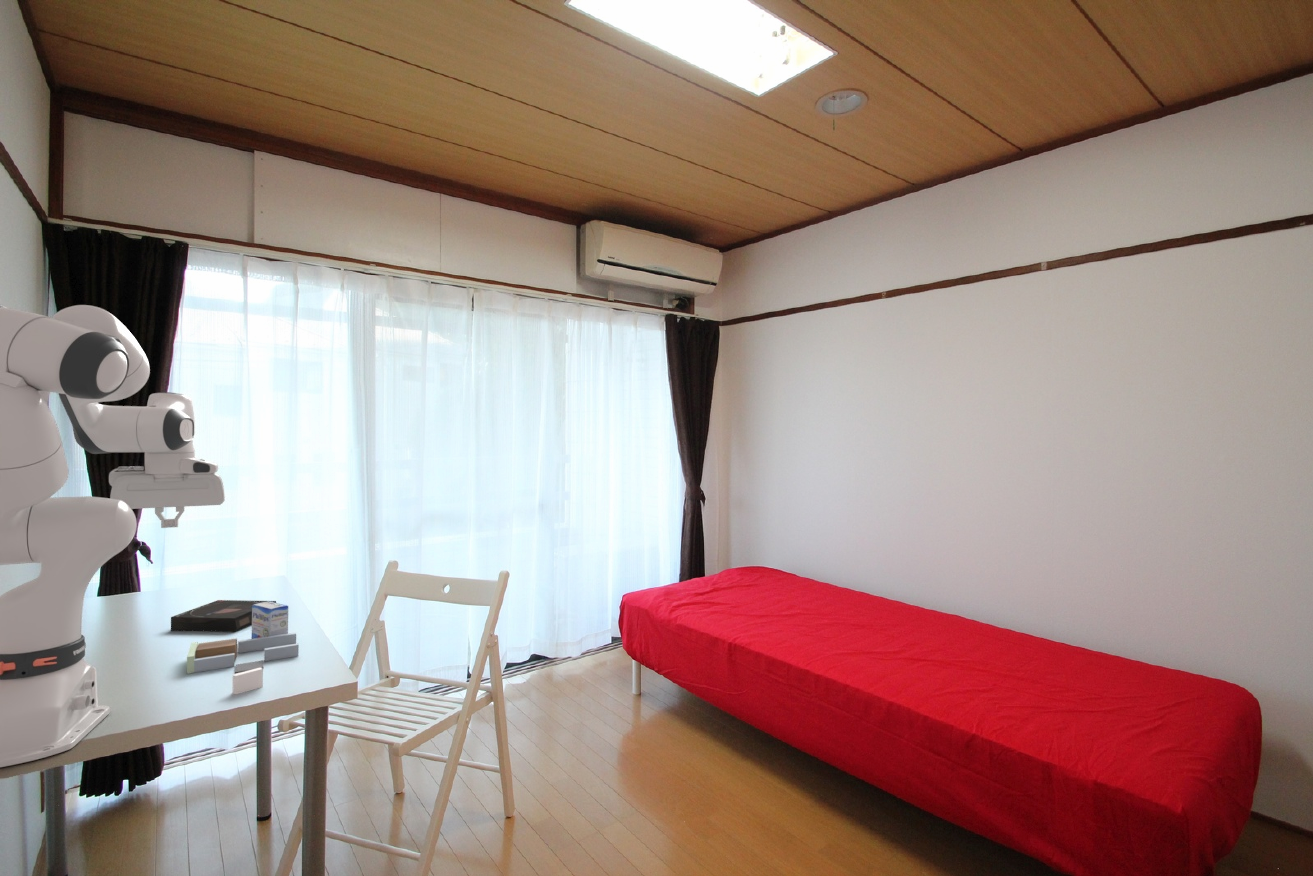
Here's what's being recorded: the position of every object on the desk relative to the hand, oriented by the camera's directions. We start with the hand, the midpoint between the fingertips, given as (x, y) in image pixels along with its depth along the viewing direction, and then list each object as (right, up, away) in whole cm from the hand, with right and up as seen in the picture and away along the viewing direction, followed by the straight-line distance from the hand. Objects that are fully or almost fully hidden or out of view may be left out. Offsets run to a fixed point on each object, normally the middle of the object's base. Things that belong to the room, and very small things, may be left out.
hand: (169, 527), depth 139 cm
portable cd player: (-5, -30, +26) cm, 40 cm away
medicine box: (+15, -30, +12) cm, 35 cm away
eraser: (+29, -30, -17) cm, 45 cm away
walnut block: (+12, -29, -2) cm, 32 cm away
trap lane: (+17, -29, +1) cm, 34 cm away
